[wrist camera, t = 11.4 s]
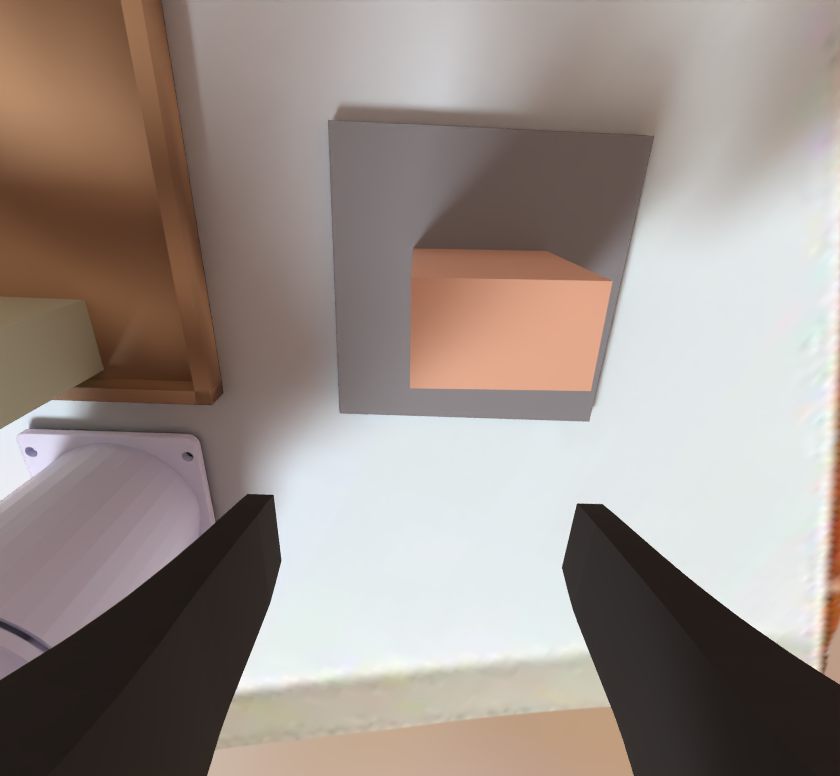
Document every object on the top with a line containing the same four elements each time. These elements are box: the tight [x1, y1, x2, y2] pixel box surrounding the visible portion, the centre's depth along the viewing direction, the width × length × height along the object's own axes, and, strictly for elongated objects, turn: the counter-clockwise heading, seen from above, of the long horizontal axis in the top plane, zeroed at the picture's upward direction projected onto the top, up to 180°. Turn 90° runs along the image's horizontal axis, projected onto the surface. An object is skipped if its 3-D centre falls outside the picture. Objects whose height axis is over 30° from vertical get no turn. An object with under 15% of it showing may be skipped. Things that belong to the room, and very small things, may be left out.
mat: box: [328, 120, 654, 421], centre depth 17 cm, size 11×11×1 cm
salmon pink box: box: [410, 248, 613, 391], centre depth 14 cm, size 3×5×6 cm, turn 89°
